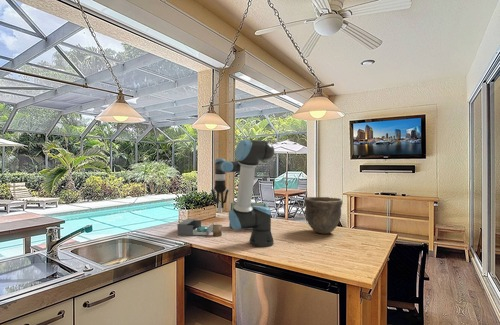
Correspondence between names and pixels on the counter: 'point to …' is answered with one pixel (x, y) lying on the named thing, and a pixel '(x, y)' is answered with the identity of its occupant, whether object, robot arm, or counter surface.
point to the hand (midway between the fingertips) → (220, 212)
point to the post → (217, 230)
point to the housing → (187, 227)
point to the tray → (204, 232)
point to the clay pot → (323, 213)
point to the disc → (202, 228)
